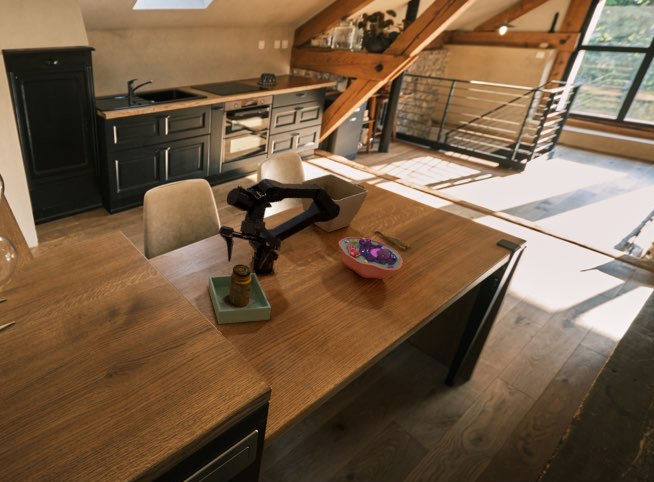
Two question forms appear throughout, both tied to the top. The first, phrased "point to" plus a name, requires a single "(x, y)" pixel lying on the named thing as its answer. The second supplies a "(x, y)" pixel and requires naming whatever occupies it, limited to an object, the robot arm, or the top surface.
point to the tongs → (394, 240)
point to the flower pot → (338, 200)
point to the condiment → (239, 288)
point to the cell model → (369, 257)
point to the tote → (253, 312)
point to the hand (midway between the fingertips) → (243, 265)
